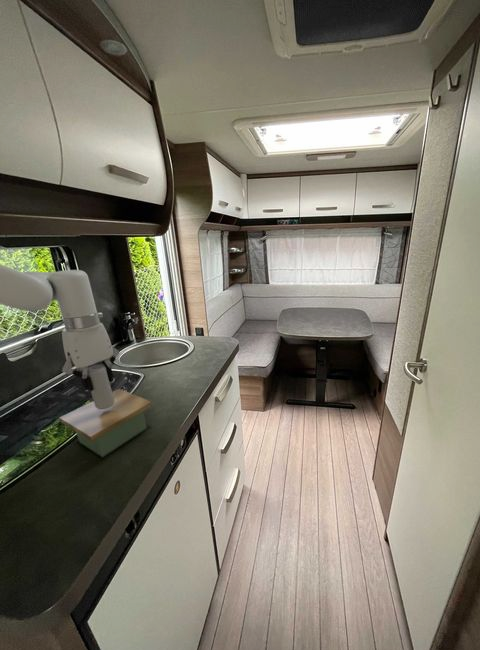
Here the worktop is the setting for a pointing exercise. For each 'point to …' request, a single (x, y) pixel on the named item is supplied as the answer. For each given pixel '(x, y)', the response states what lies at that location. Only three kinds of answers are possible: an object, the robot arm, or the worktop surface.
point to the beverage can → (100, 386)
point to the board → (105, 415)
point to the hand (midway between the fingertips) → (99, 384)
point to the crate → (115, 436)
